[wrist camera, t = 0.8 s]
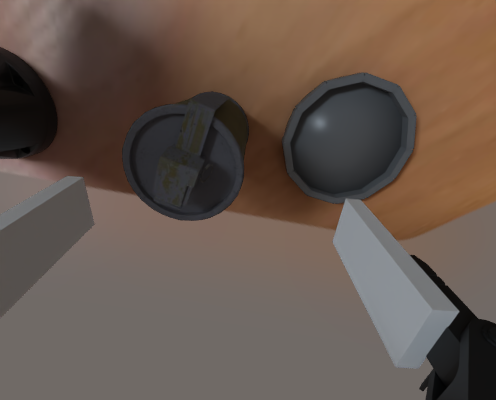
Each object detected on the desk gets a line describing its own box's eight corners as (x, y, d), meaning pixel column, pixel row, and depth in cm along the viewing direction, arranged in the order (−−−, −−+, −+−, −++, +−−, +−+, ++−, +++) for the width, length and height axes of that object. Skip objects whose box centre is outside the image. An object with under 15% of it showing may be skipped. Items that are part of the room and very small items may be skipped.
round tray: (266, 178, 40) (267, 183, 38) (313, 55, 32) (316, 54, 30) (366, 209, 42) (371, 215, 40) (433, 100, 34) (443, 102, 32)
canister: (234, 173, 39) (216, 253, 22) (171, 148, 38) (96, 212, 20) (261, 107, 35) (267, 138, 17) (190, 75, 33) (116, 74, 15)
